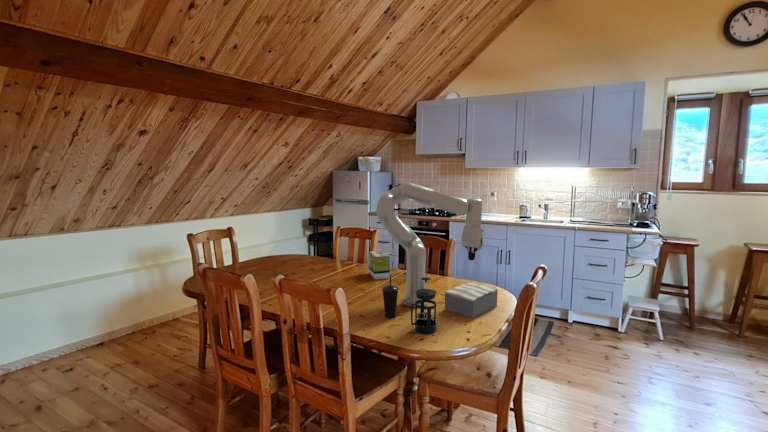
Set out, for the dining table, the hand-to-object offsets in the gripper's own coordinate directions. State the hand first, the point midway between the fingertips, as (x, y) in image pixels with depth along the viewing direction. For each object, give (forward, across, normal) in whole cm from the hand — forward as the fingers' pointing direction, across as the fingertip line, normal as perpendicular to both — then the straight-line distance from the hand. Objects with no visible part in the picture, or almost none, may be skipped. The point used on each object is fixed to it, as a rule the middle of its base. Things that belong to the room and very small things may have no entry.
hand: (471, 259), depth 206 cm
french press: (+24, +5, -41) cm, 48 cm away
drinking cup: (+24, -16, -41) cm, 50 cm away
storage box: (+23, +4, -4) cm, 24 cm away
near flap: (+15, +4, -10) cm, 18 cm away
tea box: (+24, -69, +3) cm, 73 cm away
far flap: (+15, +4, +1) cm, 15 cm away
